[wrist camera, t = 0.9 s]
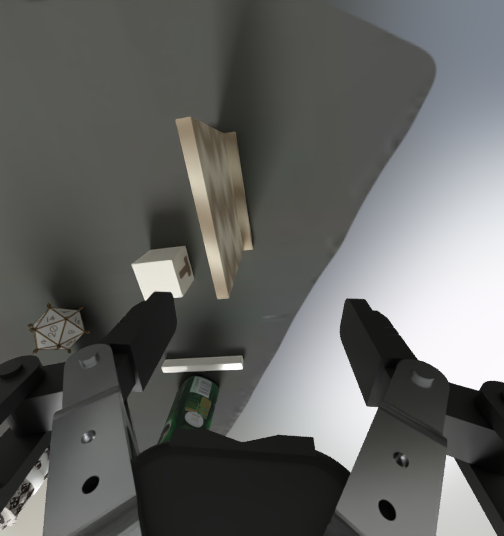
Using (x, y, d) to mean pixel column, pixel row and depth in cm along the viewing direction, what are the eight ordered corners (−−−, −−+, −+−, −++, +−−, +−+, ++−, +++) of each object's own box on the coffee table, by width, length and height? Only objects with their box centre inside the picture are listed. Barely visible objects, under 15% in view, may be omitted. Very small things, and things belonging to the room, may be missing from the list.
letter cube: (161, 281, 42) (144, 300, 37) (150, 249, 40) (131, 264, 34) (195, 278, 41) (183, 297, 36) (186, 245, 39) (172, 259, 34)
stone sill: (167, 365, 50) (163, 372, 48) (165, 359, 50) (161, 367, 48) (243, 361, 48) (242, 369, 46) (242, 355, 48) (241, 363, 46)
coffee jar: (205, 408, 55) (175, 519, 38) (173, 393, 54) (129, 501, 37) (225, 384, 51) (203, 495, 35) (192, 368, 50) (152, 474, 33)
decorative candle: (72, 351, 51) (-89, 508, 28) (112, 348, 49) (-23, 509, 27) (91, 382, 54) (-38, 543, 32) (129, 380, 53) (22, 546, 30)
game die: (81, 298, 50) (27, 292, 40) (110, 317, 47) (60, 316, 38) (58, 338, 49) (-3, 342, 39) (87, 360, 46) (30, 370, 37)
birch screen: (253, 247, 38) (242, 297, 25) (228, 249, 39) (204, 300, 25) (235, 132, 32) (208, 113, 18) (206, 137, 32) (158, 122, 19)
